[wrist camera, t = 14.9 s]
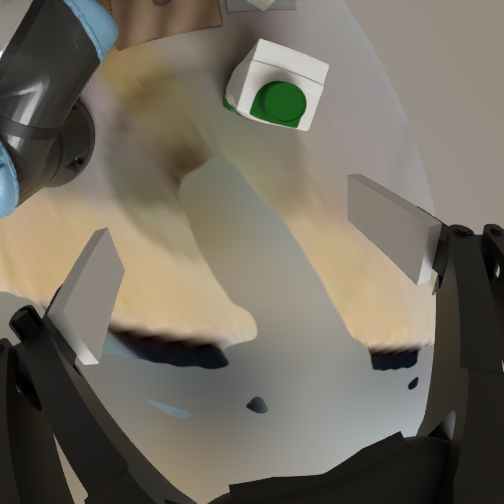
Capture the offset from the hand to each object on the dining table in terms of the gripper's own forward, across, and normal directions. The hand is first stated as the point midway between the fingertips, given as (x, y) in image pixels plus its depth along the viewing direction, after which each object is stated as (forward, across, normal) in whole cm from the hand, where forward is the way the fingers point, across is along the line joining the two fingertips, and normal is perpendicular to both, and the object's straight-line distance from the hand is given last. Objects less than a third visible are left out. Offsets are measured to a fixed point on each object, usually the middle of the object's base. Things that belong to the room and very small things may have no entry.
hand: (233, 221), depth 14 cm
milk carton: (+32, +8, +7) cm, 34 cm away
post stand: (+32, -3, +26) cm, 41 cm away
